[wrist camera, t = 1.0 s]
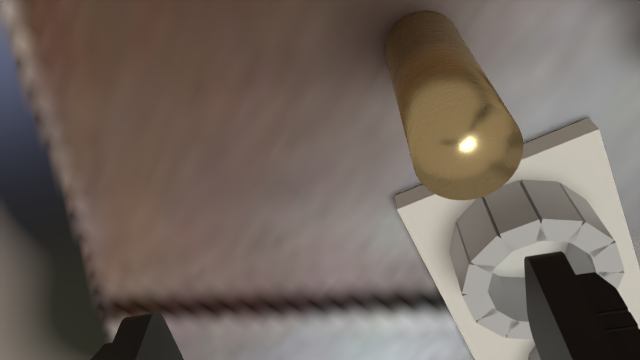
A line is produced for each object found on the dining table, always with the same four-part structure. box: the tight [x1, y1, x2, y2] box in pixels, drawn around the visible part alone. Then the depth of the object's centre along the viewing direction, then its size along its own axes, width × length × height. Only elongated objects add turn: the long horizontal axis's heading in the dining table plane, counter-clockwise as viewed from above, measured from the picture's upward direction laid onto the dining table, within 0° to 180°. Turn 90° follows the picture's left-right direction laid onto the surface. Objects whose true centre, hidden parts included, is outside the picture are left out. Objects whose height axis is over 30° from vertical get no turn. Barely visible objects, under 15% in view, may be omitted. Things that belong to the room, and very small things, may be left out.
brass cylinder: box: [385, 11, 523, 200], centre depth 27 cm, size 4×4×12 cm
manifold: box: [395, 118, 640, 360], centre depth 38 cm, size 22×12×6 cm, turn 27°
